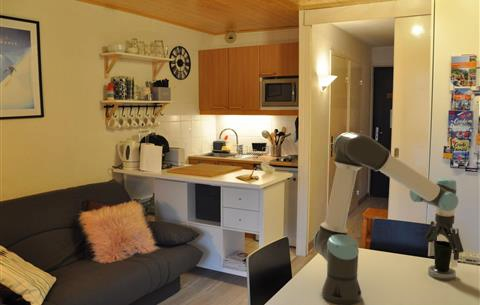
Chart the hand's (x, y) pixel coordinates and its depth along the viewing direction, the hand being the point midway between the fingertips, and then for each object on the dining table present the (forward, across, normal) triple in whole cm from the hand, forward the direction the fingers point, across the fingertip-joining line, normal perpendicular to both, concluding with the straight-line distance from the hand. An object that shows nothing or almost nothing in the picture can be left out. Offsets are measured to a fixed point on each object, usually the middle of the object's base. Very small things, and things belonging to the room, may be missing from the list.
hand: (442, 261), depth 189 cm
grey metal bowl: (+7, 0, 0) cm, 7 cm away
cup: (+4, 0, 0) cm, 4 cm away
